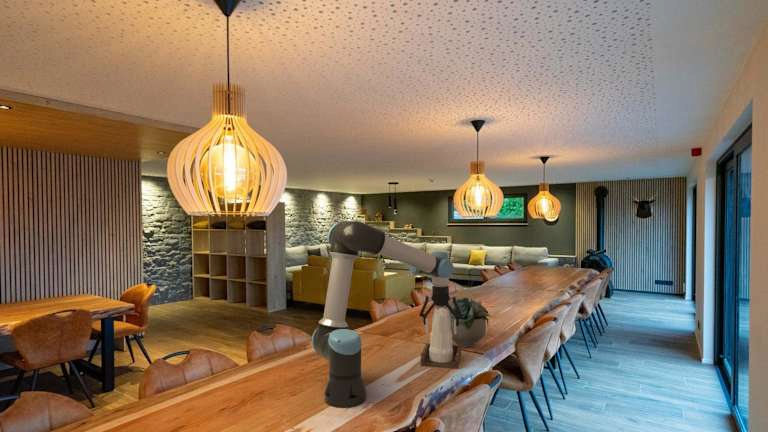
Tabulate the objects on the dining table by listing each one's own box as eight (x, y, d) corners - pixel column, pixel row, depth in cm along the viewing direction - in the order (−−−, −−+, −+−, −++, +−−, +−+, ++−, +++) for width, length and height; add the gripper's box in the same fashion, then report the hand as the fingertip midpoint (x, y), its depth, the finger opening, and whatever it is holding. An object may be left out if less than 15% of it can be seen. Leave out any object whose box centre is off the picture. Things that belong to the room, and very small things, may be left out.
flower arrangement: (500, 349, 202) (499, 299, 203) (456, 355, 194) (455, 303, 194) (473, 336, 226) (472, 292, 226) (432, 341, 217) (432, 295, 218)
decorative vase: (452, 363, 179) (453, 306, 179) (428, 361, 181) (428, 305, 182) (453, 355, 190) (453, 302, 190) (430, 353, 192) (431, 300, 192)
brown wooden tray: (458, 368, 176) (458, 357, 176) (420, 365, 180) (420, 354, 180) (461, 356, 192) (461, 345, 192) (426, 353, 196) (426, 343, 196)
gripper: (468, 284, 187) (468, 332, 186) (415, 283, 193) (416, 329, 193) (467, 287, 180) (467, 336, 179) (412, 285, 186) (413, 333, 185)
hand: (441, 332), depth 186 cm, fingers open, 12 cm apart
